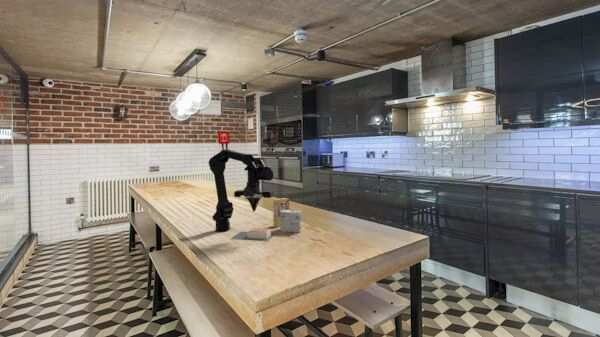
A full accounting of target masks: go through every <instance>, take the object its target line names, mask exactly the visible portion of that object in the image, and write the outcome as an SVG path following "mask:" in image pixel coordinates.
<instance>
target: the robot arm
mask: <svg viewBox="0 0 600 337" xmlns="http://www.w3.org/2000/svg"><path fill="white" fill-rule="evenodd" d="M230 159H231V160H234V161H238V162H241V163H242V164H244V165H245V168H244V169H243V170H244V171H246V172H247V182H246V186H245V187H244V188H243V189H238V190H235V191H234V193H233V197H235V198H241V197H242V196H244V198H245V200H247V201H248V202H249V204H250V207H251V209H252V212H256V210H257V207H258V206H259V205H258V204H259V202H260V200H261V199H262V198H264V199H266V198H267V199H269V198H270V199H271V198H273V197H274V191H273V190H264V191H261V188H260V186H261V185H260V184H261V181H265V182H266V181H268V182H269V181H270V182H271V181H272V180H273V179H274V170H272V168H271V166H269V165H268V166H266V165H265V163H264V161H263V160H262V157H261V155H260V154H258V153H243V152H239V151H234V150H231V149H222V150H221V151H219V152H218V153H217V154H215V155H213V156H212V157H211V158H210V159H209V160H208V165H209V170H210V171H211V172H212V173H213V176H214V183H215V188H216V194H217V204H216V207H215V210H216V211H215V213H214V214H213V215H211V216H212V217H211V218H212V220H213V221H214V222H215V230H214V232H219V233H220V232H221V233H226V232H228V231H229V230H231V224H230V219H231V218H232V216H233V213H234V206H233V205H234V204H233V202H232V201H231V202H230V200H229V198H228V193H227V187H226V181H225V170H226V164H227V163H228V162H229V160H230Z"/></svg>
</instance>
